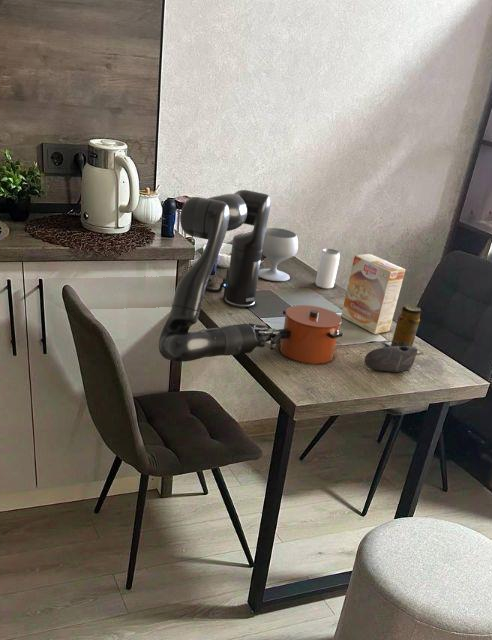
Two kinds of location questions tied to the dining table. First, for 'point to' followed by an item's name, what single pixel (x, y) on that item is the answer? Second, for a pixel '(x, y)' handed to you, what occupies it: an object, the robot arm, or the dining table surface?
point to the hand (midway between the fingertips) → (288, 333)
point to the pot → (311, 334)
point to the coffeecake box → (372, 293)
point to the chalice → (278, 252)
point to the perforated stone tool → (391, 358)
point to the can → (327, 268)
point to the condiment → (406, 327)
